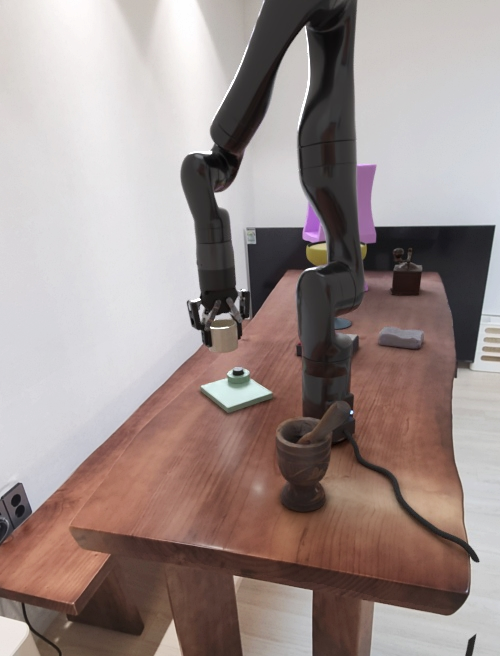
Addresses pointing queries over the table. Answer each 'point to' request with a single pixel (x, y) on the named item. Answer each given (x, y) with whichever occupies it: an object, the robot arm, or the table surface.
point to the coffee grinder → (405, 275)
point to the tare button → (238, 371)
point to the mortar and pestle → (307, 456)
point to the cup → (224, 336)
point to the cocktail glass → (319, 257)
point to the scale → (236, 392)
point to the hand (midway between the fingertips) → (223, 342)
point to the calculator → (354, 337)
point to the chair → (366, 224)
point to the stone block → (401, 337)
